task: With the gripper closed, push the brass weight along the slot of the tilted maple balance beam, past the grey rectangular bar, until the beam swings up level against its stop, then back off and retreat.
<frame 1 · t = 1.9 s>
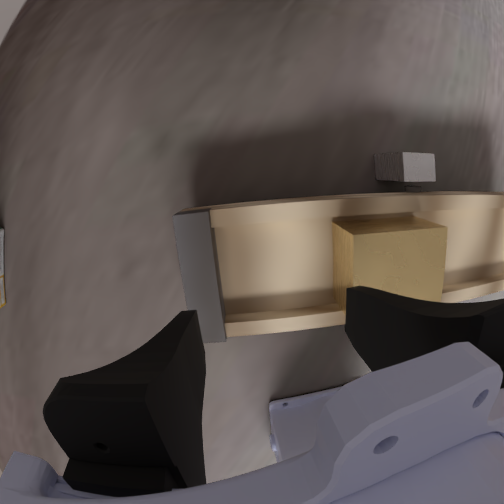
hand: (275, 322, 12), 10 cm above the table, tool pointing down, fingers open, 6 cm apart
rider: (375, 256, 19), point 4 cm above the table, tilted 6°, touching beam
beam: (416, 251, 19), point 4 cm above the table, hinge at -6.2°, touching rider
grey rectangular bar: (392, 237, 23), on the table
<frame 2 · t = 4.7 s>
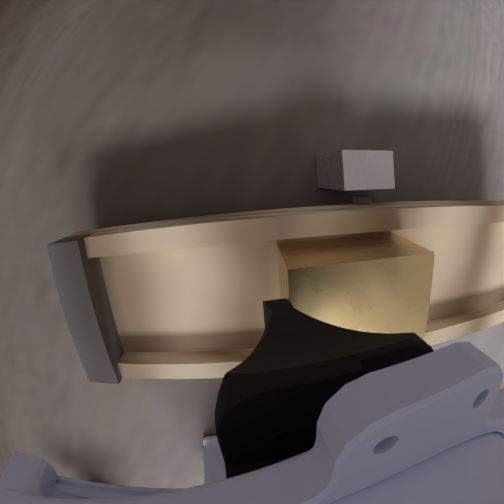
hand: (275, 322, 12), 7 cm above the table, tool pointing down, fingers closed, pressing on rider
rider: (338, 286, 15), point 4 cm above the table, tilted 6°, touching beam, gripper
beam: (363, 283, 15), point 4 cm above the table, hinge at -5.6°, touching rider
grey rectangular bar: (342, 260, 19), on the table
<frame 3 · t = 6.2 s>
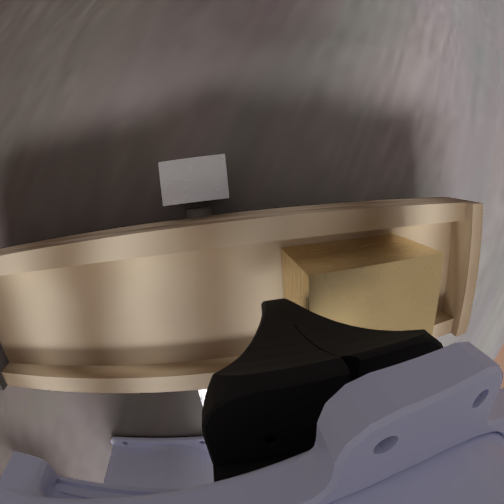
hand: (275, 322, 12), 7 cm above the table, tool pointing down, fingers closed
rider: (341, 288, 14), point 4 cm above the table, touching beam, gripper
beam: (198, 306, 14), point 4 cm above the table, hinge at 0.4°, touching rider
grey rectangular bar: (210, 275, 18), on the table
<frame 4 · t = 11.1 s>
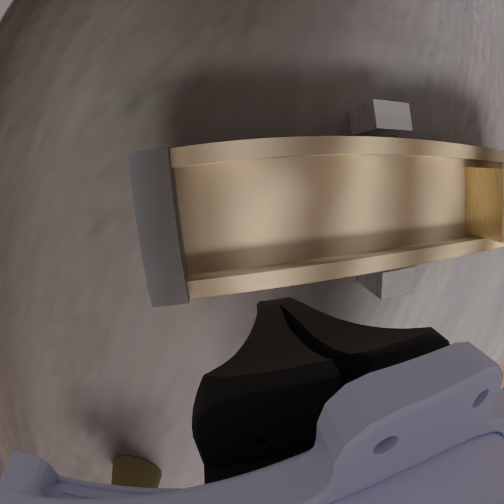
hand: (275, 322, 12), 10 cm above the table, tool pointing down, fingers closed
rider: (486, 199, 18), point 4 cm above the table, touching beam
beam: (397, 201, 18), point 4 cm above the table, hinge at 0.4°, touching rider
grey rectangular bar: (372, 196, 22), on the table
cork: (137, 468, 26), on the table
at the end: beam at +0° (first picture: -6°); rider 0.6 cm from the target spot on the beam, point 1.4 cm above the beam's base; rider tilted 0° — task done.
